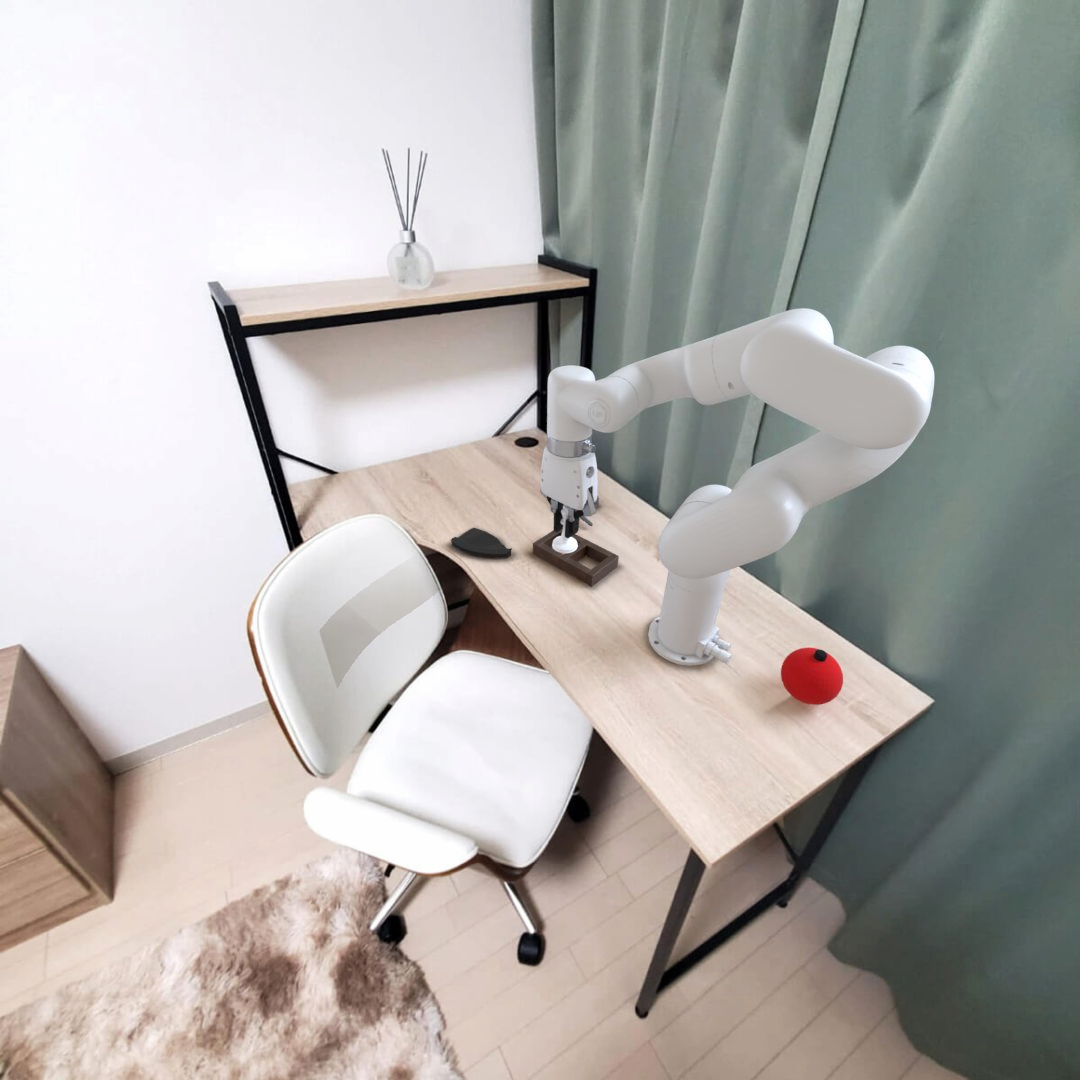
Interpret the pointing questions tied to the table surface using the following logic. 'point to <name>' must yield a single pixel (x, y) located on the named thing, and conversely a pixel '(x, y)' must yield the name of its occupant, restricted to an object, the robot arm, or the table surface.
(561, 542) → the chess piece
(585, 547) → the rack
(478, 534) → the curved wedge
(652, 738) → the table surface
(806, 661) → the ornament
